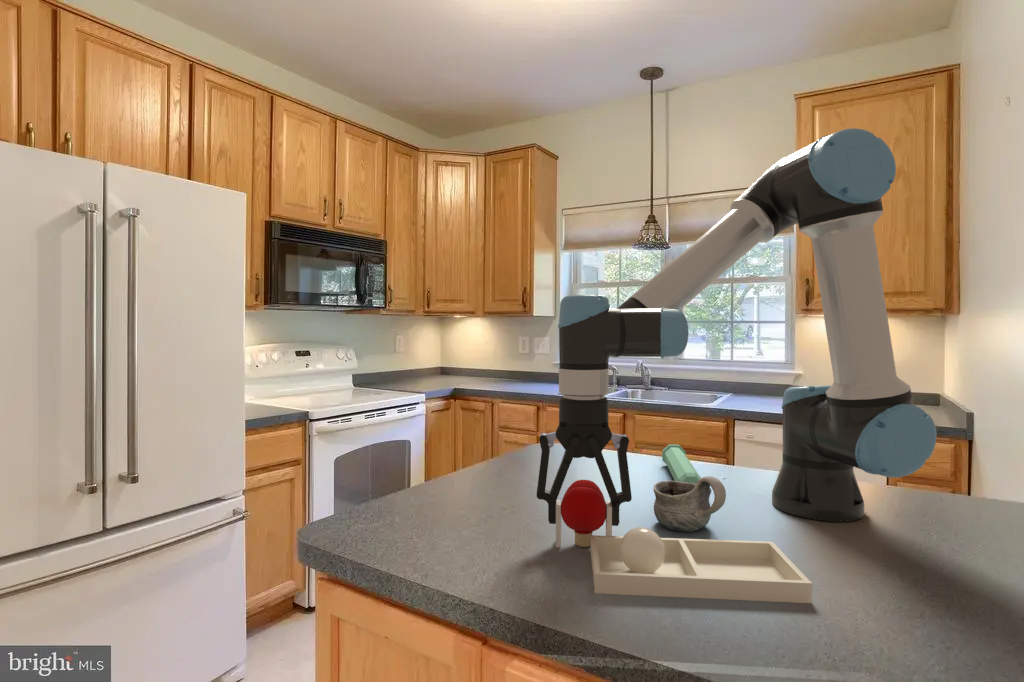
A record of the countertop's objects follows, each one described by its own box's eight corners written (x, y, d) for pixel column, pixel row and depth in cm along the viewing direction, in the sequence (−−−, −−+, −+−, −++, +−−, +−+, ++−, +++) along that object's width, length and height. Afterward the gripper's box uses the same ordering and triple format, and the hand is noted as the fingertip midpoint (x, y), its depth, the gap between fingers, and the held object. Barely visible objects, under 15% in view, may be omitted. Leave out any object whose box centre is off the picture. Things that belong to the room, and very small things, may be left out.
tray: (772, 562, 80) (772, 541, 79) (811, 607, 67) (812, 583, 67) (590, 555, 82) (590, 535, 82) (594, 597, 69) (594, 574, 69)
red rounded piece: (605, 562, 79) (605, 494, 79) (557, 558, 81) (557, 491, 81) (607, 538, 89) (607, 476, 88) (564, 535, 90) (564, 474, 90)
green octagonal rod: (700, 467, 110) (680, 440, 135) (672, 477, 111) (657, 448, 136) (711, 495, 110) (690, 462, 135) (683, 504, 111) (666, 470, 136)
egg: (660, 563, 78) (661, 521, 78) (668, 583, 72) (668, 537, 72) (617, 562, 78) (617, 520, 78) (622, 581, 72) (622, 536, 72)
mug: (671, 515, 100) (671, 460, 100) (740, 533, 91) (740, 473, 91) (642, 528, 93) (642, 470, 93) (713, 550, 84) (713, 485, 84)
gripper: (646, 393, 87) (645, 538, 87) (520, 392, 89) (521, 533, 89) (653, 400, 79) (653, 557, 80) (516, 398, 81) (516, 552, 82)
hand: (583, 544), depth 85 cm, fingers closed on red rounded piece, 7 cm apart
